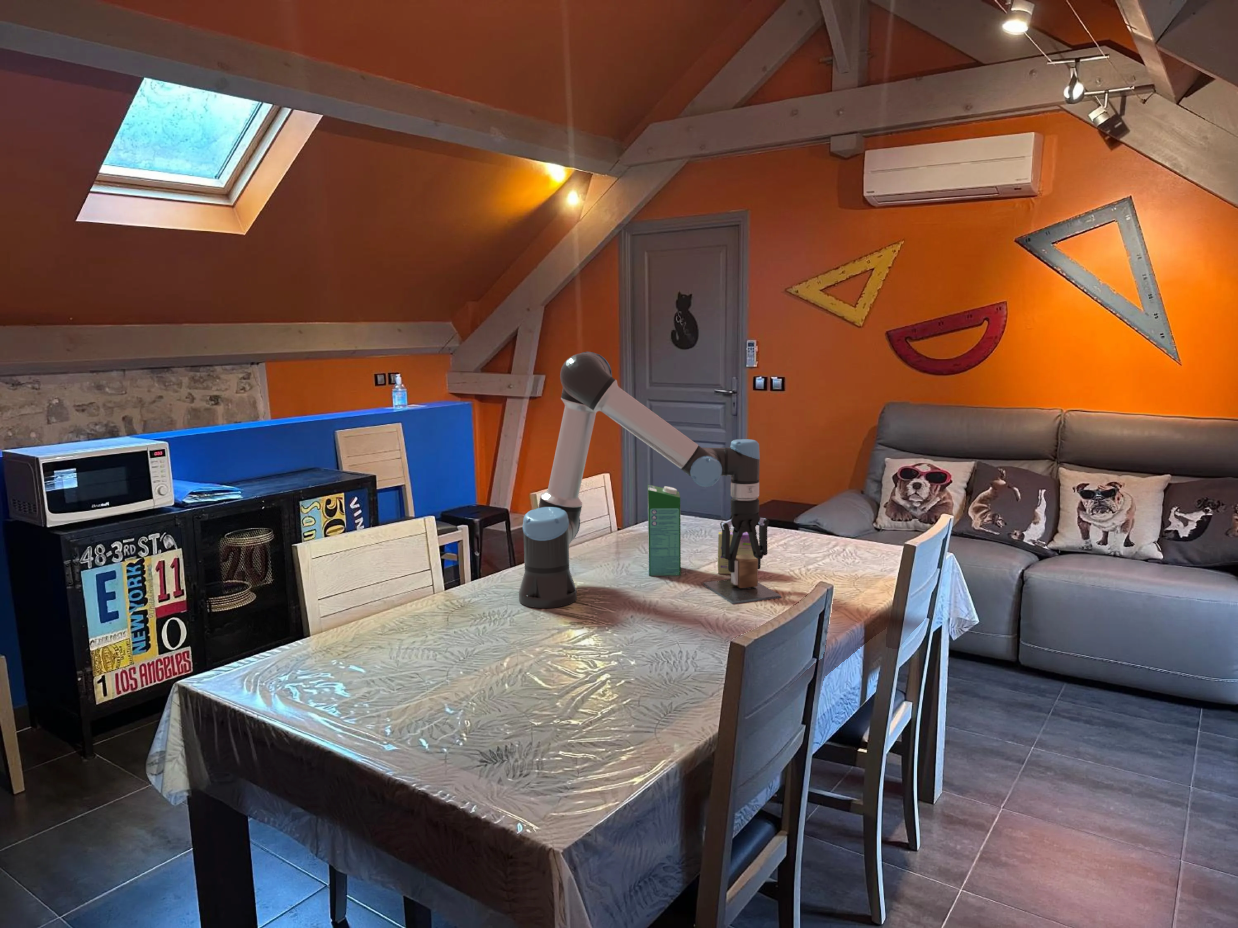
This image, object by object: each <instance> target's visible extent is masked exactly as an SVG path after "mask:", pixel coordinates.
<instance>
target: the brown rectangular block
mask: <svg viewBox="0 0 1238 928" xmlns="http://www.w3.org/2000/svg"><path fill="white" fill-rule="evenodd" d="M735 560H737V561H738V585H735V584H734V585H735V586H737V587H739V588H746V587H754V586H758V583H759V582H758V581H759V576H758V575H759V569H758V558H756V557H754V556H752V555H750V554H744V555H736V559H735ZM732 584H733V583H732Z"/></svg>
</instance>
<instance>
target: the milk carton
mask: <svg viewBox="0 0 1238 928" xmlns="http://www.w3.org/2000/svg"><path fill="white" fill-rule="evenodd" d="M681 522H682V521H681V495H680V492H679V491H678V489H677V488H675V487H672V486H666V485H664V486H663V487H659V486H656V485H652V484H647V523H648V524H647V529H648V530H647V536H648V539H647V541H648V543H647V546H648V547H647V549H648V551H647V552H648V553H647V554H648V555H647V556H648V557H647V558H648V575H649V577H655V576H657V577H661V576H663V577H664V576H665V577H667V576H668V577H670V576H671V577H673V576H677V577H678V576H681V575H682V572H681V571H682V568H681V564H682V563H681V560H682V558H681V553H682V551H681V550H682V549H681V544H682V543H681V535H682V534H681V531H682V530H681V527H682V526H681V525H682V524H681Z"/></svg>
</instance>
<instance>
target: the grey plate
mask: <svg viewBox="0 0 1238 928" xmlns="http://www.w3.org/2000/svg"><path fill="white" fill-rule="evenodd" d="M702 585H703V586H704V587H706V588H707V589H709V590H710V591H712V592H713V593H715V594H716V595H717V596H720V597H721V598H723V599H724V600H726V601H727V602H729V603H730V604H732V605H735V604H741V603H742V604H745V603H751V602H760V601H767V600H774V599H781V598H782V595H781V594H780V593H778V592H776V591H774V590H772V589H770V588H769V587H768V586H765V585H764V584H762V583H760V582H758V586H754V587H746V588H739V587H737V586H735V585H734V584H732V583H731V578H730V579H721V580H714V581H712V580H711V581H706V582H705V581H704V582H703V581H702Z"/></svg>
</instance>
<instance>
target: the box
mask: <svg viewBox="0 0 1238 928" xmlns="http://www.w3.org/2000/svg"><path fill="white" fill-rule="evenodd" d="M732 537H733V529H731V530H730V545H731V541H732ZM721 553H722V529H718V533H717V572H718V573H717V574H719V575H723V574H725V575H728V574H729V575H731V572H729V570H728V560H727V559H725V558H723V557H722V556H721ZM744 554H750V555H752V556H754V555H753V551H752V547H751V543H750V539H749V535H748V533H747V532H745V533H743V535H742V537H741V539H740V543H739V547H738V551H737V555H744Z"/></svg>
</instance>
